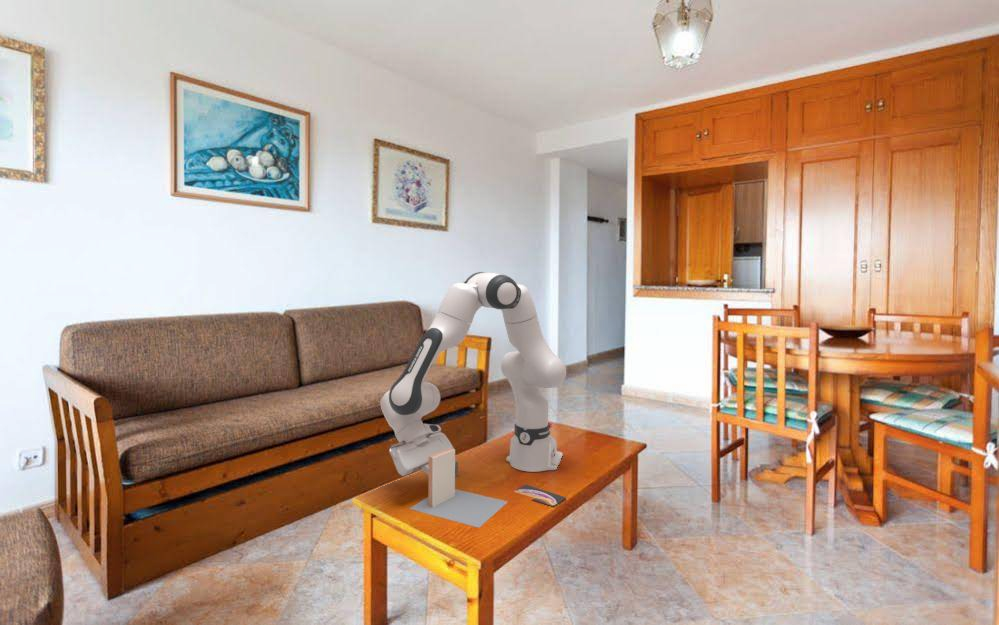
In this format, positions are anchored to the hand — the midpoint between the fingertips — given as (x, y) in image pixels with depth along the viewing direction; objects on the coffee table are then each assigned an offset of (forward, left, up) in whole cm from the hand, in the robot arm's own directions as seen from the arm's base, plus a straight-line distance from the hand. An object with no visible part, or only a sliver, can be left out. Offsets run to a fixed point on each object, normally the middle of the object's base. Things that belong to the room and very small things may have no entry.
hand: (437, 477), depth 143 cm
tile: (0, +2, -6) cm, 6 cm away
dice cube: (-15, -7, -7) cm, 18 cm away
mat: (0, +8, -7) cm, 10 cm away
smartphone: (-17, +25, -7) cm, 31 cm away
